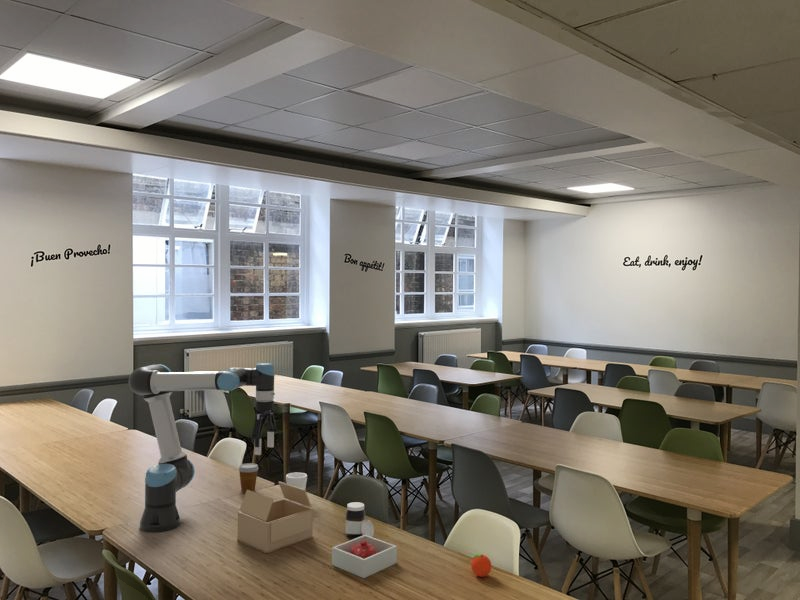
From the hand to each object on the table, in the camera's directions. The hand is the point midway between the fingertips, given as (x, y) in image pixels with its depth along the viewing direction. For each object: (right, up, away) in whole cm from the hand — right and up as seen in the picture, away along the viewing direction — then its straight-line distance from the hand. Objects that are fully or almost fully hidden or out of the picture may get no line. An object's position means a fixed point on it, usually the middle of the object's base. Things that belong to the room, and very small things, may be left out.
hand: (264, 450), depth 263 cm
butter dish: (+44, -30, -43) cm, 69 cm away
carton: (+9, -29, -21) cm, 37 cm away
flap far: (+15, -14, -15) cm, 25 cm away
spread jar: (+41, -30, -16) cm, 53 cm away
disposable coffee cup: (-16, -29, +39) cm, 51 cm away
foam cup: (+10, -29, +20) cm, 37 cm away
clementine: (+84, -30, -50) cm, 103 cm away
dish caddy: (+45, -29, -43) cm, 68 cm away
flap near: (+3, -14, -28) cm, 31 cm away
